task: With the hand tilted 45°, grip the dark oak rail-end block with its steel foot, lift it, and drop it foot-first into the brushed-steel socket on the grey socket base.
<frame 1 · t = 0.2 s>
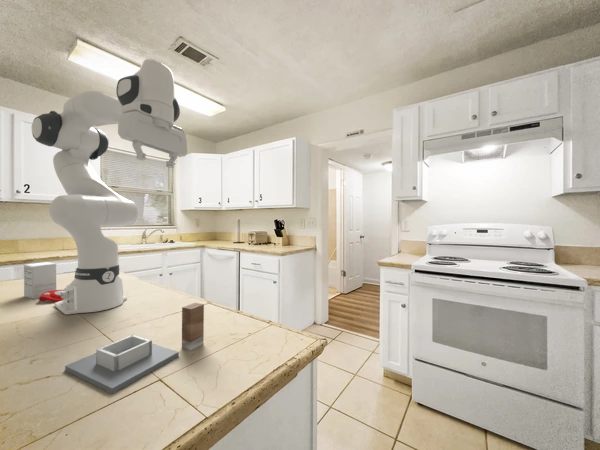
hand: (156, 163, 75), 48 cm above the countertop, tool pointing down, fingers open, 8 cm apart
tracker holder: (63, 299, 98), on the countertop
grey socket base: (125, 363, 55), on the countertop
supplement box: (40, 295, 101), on the countertop
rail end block: (192, 345, 63), on the countertop
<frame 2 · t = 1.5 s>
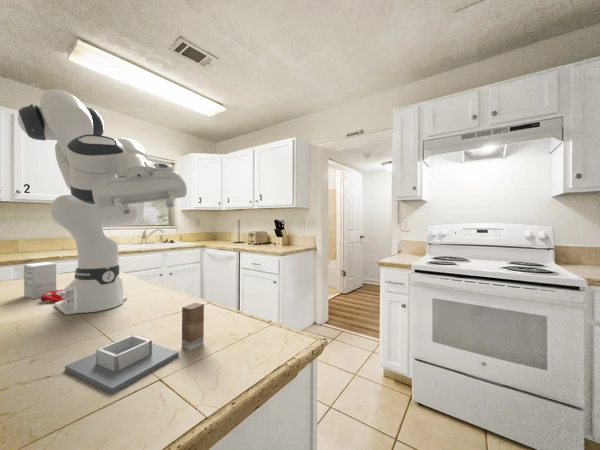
hand: (149, 208, 61), 34 cm above the countertop, tool tilted 50°, fingers open, 8 cm apart
nothing on the countertop moved.
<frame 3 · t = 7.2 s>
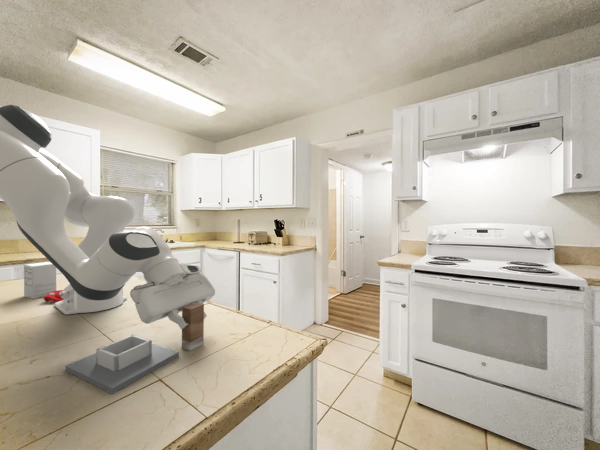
hand: (194, 322, 63), 6 cm above the countertop, tool tilted 45°, fingers closed on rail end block, 4 cm apart
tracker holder: (68, 299, 98), on the countertop
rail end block: (192, 345, 63), on the countertop, touching gripper
everything else where it was.
when the fingers open (8 cm above the countertop, at t = 13.6 s): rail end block drops 2 cm, resting on grey socket base.
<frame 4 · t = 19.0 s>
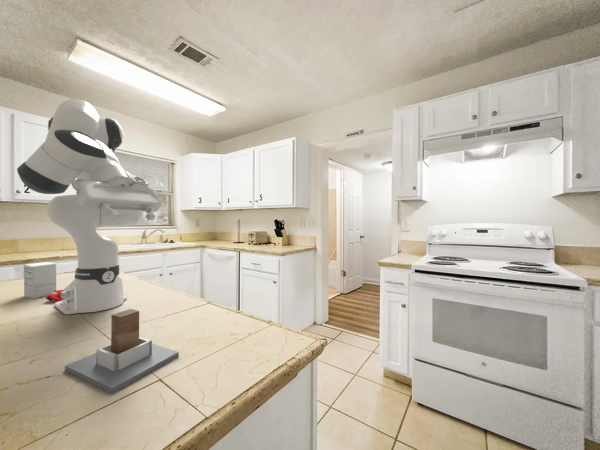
hand: (135, 218, 69), 31 cm above the countertop, tool tilted 45°, fingers open, 8 cm apart
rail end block: (125, 358, 55), point 1 cm above the countertop, touching grey socket base
at the end: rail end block 0.0 cm off-centre on the grey socket base, point 1.0 cm above the grey socket base's base; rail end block tilted 0°; the gripper is holding nothing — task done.
